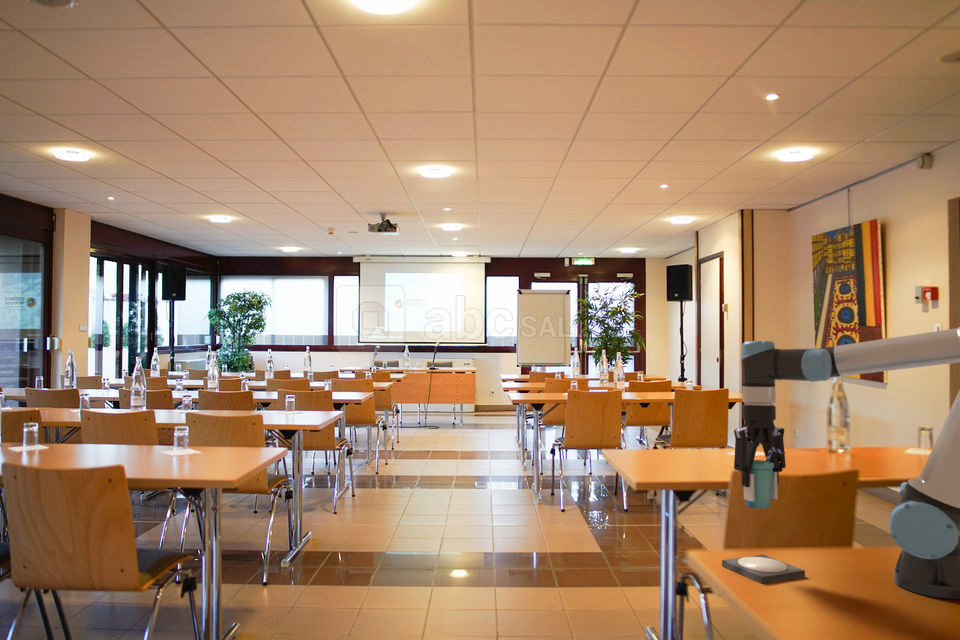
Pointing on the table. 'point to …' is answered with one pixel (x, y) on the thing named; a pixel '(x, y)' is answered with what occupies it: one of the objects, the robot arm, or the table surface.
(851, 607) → the table surface
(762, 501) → the cup
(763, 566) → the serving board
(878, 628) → the table surface
